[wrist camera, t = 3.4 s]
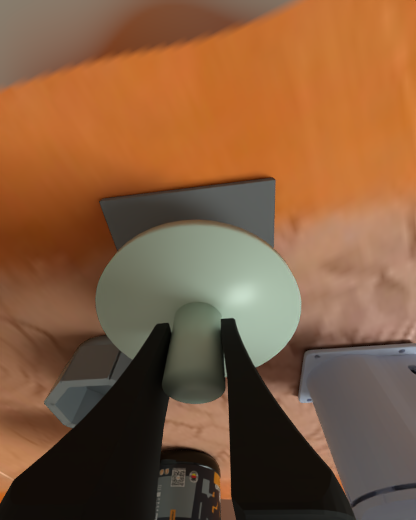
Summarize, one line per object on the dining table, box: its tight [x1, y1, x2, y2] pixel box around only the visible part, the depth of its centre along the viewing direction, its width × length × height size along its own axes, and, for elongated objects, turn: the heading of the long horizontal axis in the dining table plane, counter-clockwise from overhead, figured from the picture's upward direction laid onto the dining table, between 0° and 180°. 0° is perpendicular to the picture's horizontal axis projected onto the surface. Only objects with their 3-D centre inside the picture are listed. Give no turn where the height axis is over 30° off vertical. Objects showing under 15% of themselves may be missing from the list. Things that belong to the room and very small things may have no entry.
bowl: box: [44, 335, 132, 428], centre depth 20 cm, size 9×9×4 cm
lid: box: [95, 220, 301, 404], centre depth 11 cm, size 11×11×4 cm
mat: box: [99, 178, 275, 251], centre depth 16 cm, size 10×12×1 cm
